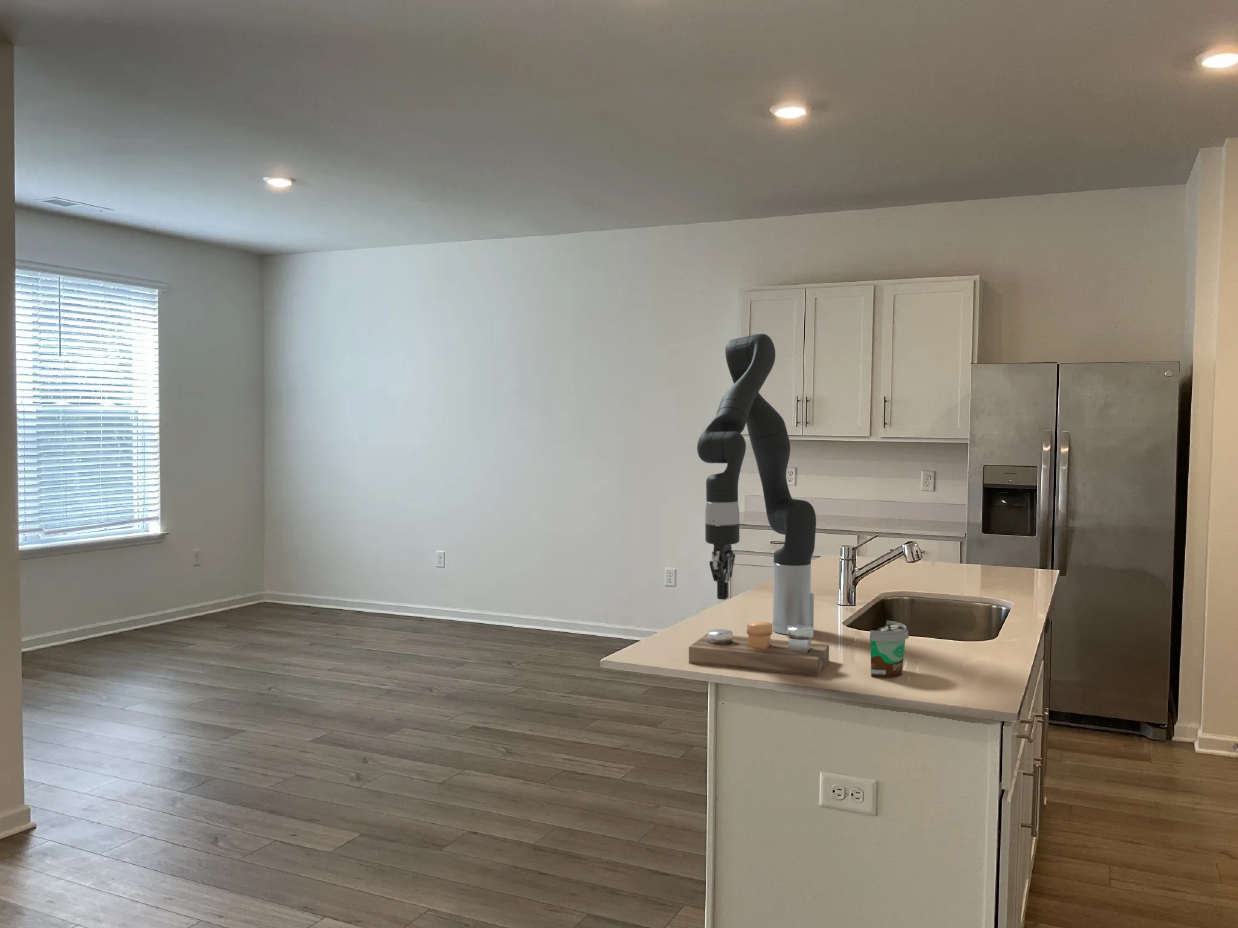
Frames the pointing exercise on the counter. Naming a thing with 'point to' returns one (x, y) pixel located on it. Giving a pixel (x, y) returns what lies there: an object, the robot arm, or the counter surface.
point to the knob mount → (760, 656)
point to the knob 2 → (800, 638)
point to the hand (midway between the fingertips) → (722, 598)
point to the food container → (888, 650)
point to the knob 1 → (720, 636)
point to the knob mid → (759, 634)
